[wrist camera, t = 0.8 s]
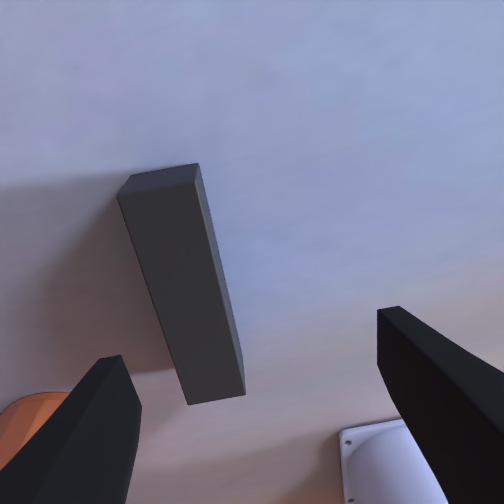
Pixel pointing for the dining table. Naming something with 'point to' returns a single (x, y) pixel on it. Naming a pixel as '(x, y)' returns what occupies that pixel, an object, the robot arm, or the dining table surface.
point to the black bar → (185, 279)
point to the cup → (25, 421)
